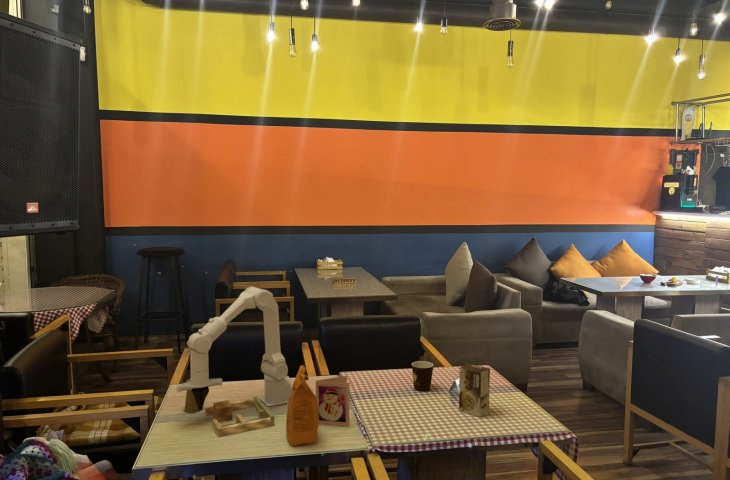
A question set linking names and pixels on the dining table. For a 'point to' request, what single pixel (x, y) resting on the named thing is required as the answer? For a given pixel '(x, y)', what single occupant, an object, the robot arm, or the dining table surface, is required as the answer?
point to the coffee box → (474, 389)
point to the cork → (190, 402)
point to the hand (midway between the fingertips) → (200, 409)
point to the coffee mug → (422, 375)
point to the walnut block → (222, 411)
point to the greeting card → (333, 401)
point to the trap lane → (241, 426)
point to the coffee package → (301, 412)
